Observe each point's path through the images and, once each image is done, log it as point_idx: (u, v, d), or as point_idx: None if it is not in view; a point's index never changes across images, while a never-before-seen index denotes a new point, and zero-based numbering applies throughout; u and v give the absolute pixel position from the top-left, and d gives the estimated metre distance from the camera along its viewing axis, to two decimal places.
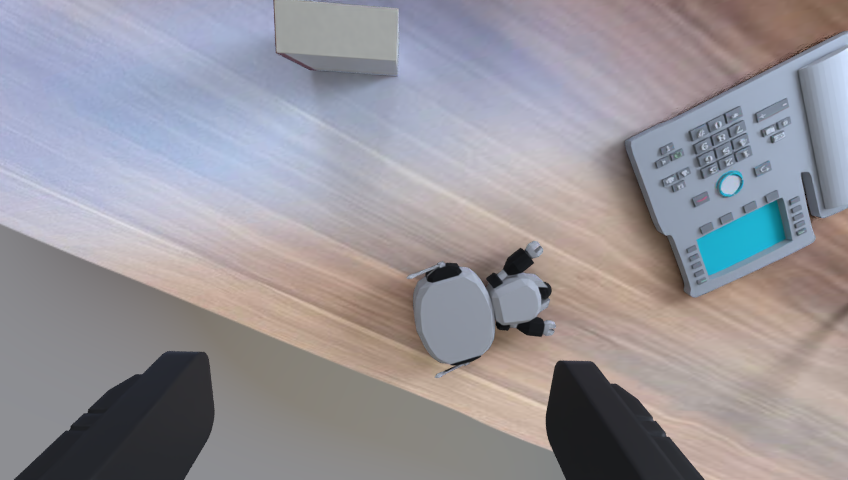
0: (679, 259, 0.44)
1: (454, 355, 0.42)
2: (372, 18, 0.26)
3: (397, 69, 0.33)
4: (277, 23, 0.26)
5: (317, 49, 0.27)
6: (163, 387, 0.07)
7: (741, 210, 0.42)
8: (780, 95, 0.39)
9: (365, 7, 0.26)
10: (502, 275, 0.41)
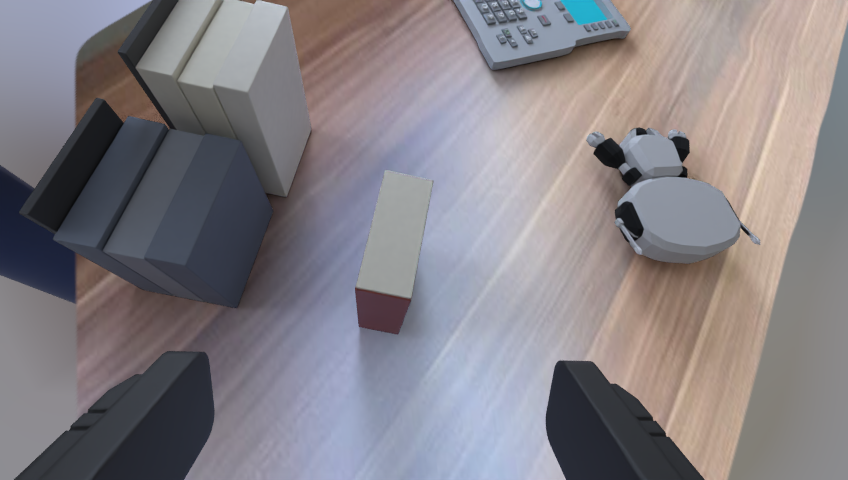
0: (596, 37, 0.49)
1: (728, 218, 0.36)
2: (391, 193, 0.25)
3: None
4: (381, 289, 0.23)
5: (413, 253, 0.24)
6: (163, 387, 0.07)
7: None
8: None
9: (379, 198, 0.25)
10: (626, 167, 0.39)
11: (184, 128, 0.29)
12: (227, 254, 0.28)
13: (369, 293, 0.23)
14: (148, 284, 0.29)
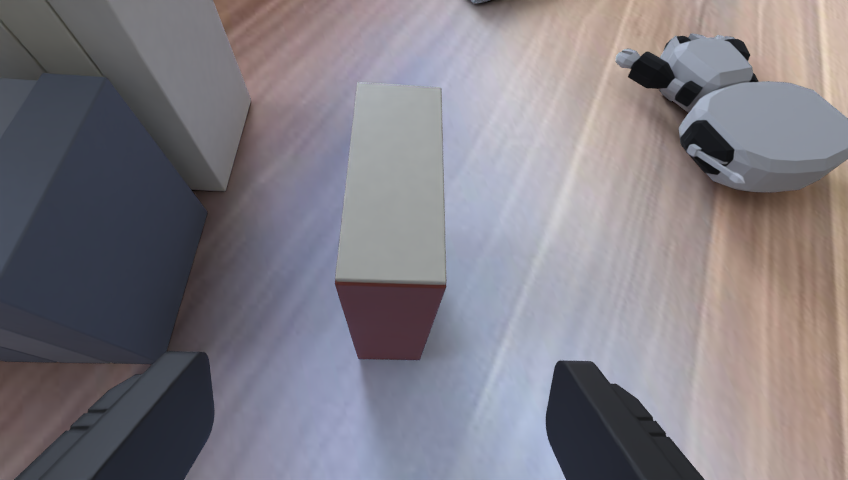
0: None
1: (837, 120, 0.26)
2: (374, 115, 0.14)
3: None
4: (386, 275, 0.12)
5: (433, 203, 0.13)
6: (163, 387, 0.07)
7: None
8: None
9: (355, 124, 0.14)
10: (678, 83, 0.29)
11: None
12: (117, 275, 0.17)
13: (364, 288, 0.12)
14: None
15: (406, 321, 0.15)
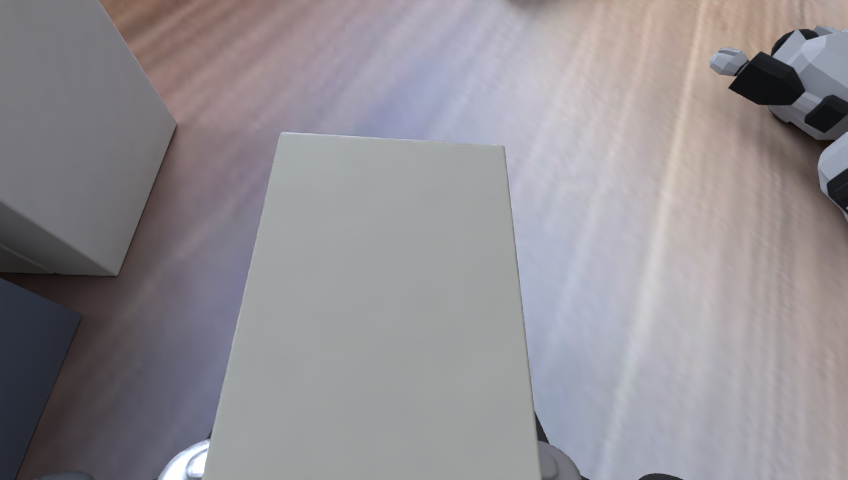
0: None
1: None
2: (317, 236, 0.05)
3: None
4: None
5: None
6: None
7: None
8: None
9: (256, 272, 0.05)
10: (812, 98, 0.20)
11: None
12: None
13: None
14: None
15: None
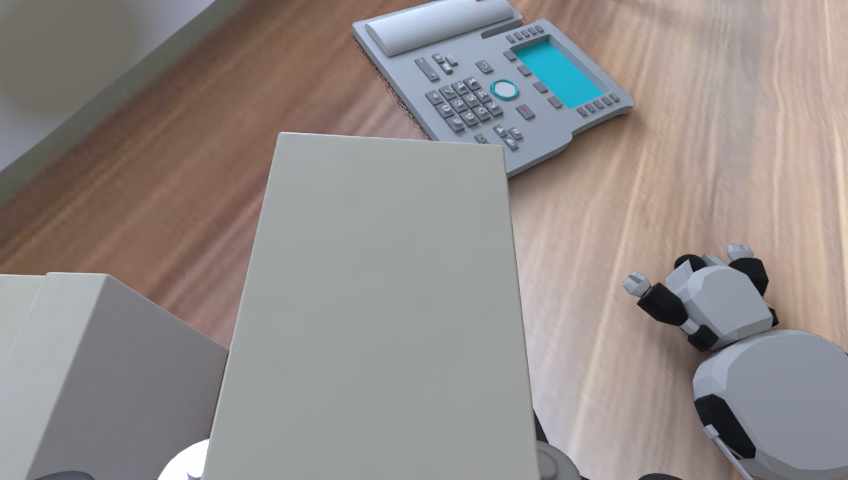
0: (595, 121, 0.38)
1: None
2: (316, 237, 0.05)
3: None
4: None
5: None
6: None
7: (528, 76, 0.39)
8: (412, 65, 0.39)
9: (255, 273, 0.05)
10: (691, 326, 0.27)
11: None
12: None
13: None
14: None
15: None
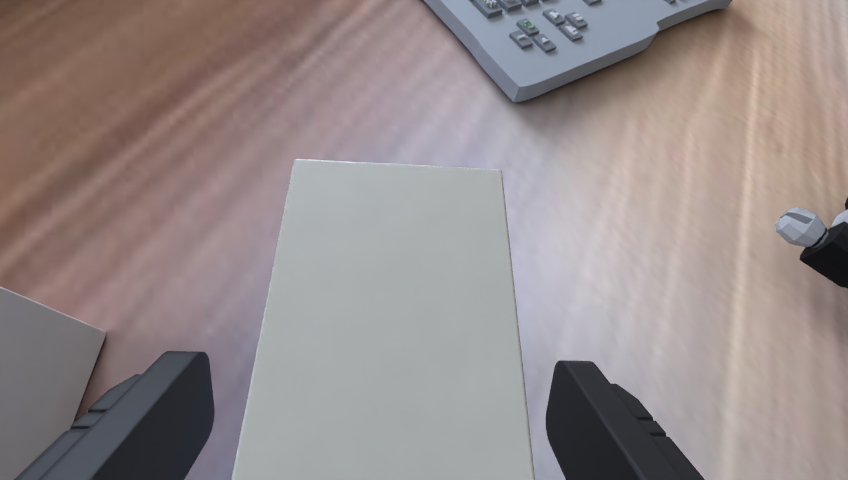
0: (686, 12, 0.26)
1: None
2: (331, 258, 0.05)
3: None
4: None
5: None
6: (163, 387, 0.07)
7: None
8: None
9: (275, 292, 0.05)
10: None
11: None
12: None
13: None
14: None
15: None
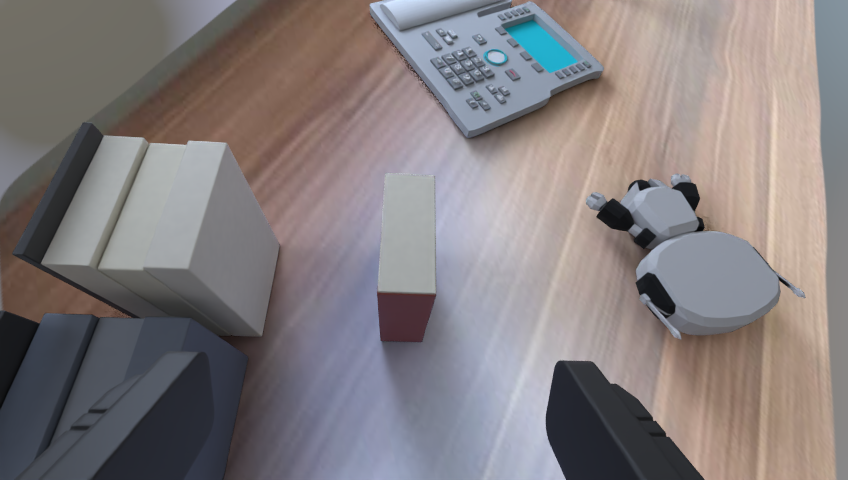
0: (570, 83, 0.46)
1: (764, 273, 0.32)
2: (395, 194, 0.25)
3: None
4: (404, 289, 0.22)
5: (429, 248, 0.23)
6: (163, 387, 0.07)
7: (516, 47, 0.48)
8: (419, 37, 0.47)
9: (385, 201, 0.25)
10: (636, 229, 0.35)
11: (122, 301, 0.24)
12: None
13: (392, 296, 0.22)
14: None
15: (414, 314, 0.25)
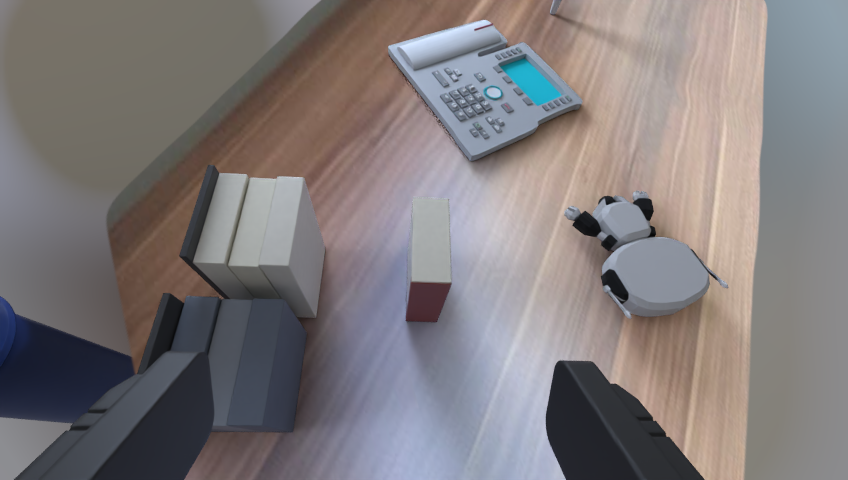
0: (554, 114, 0.56)
1: (697, 269, 0.42)
2: (421, 213, 0.35)
3: None
4: (429, 279, 0.32)
5: (446, 251, 0.33)
6: (163, 387, 0.07)
7: (510, 83, 0.57)
8: (430, 76, 0.57)
9: (414, 217, 0.34)
10: (602, 235, 0.45)
11: (228, 289, 0.34)
12: (284, 394, 0.32)
13: (421, 284, 0.32)
14: (216, 430, 0.33)
15: (434, 298, 0.35)
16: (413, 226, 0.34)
